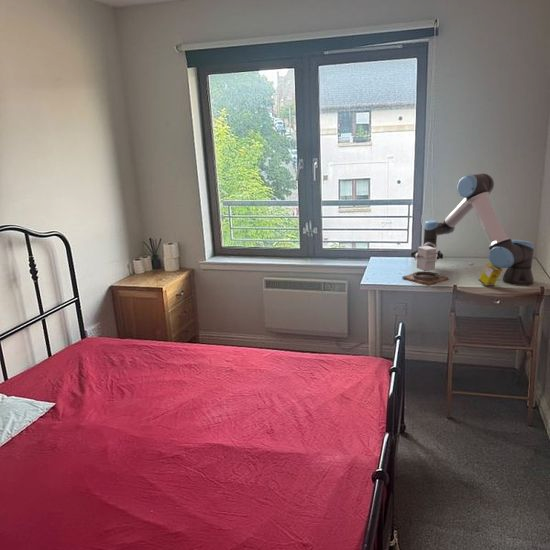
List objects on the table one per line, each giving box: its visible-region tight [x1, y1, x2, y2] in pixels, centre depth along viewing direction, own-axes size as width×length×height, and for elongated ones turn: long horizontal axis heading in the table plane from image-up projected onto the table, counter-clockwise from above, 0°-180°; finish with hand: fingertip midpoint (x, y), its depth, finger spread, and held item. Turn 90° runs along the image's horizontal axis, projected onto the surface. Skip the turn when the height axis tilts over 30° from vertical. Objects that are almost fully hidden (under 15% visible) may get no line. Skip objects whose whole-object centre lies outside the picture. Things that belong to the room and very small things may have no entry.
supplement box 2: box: [478, 263, 503, 287], centre depth 263 cm, size 6×6×11 cm
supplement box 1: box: [416, 246, 437, 272], centre depth 277 cm, size 7×7×13 cm
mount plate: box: [402, 270, 450, 286], centre depth 279 cm, size 18×18×3 cm
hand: (425, 258), depth 273 cm, fingers closed on supplement box 1, 10 cm apart
